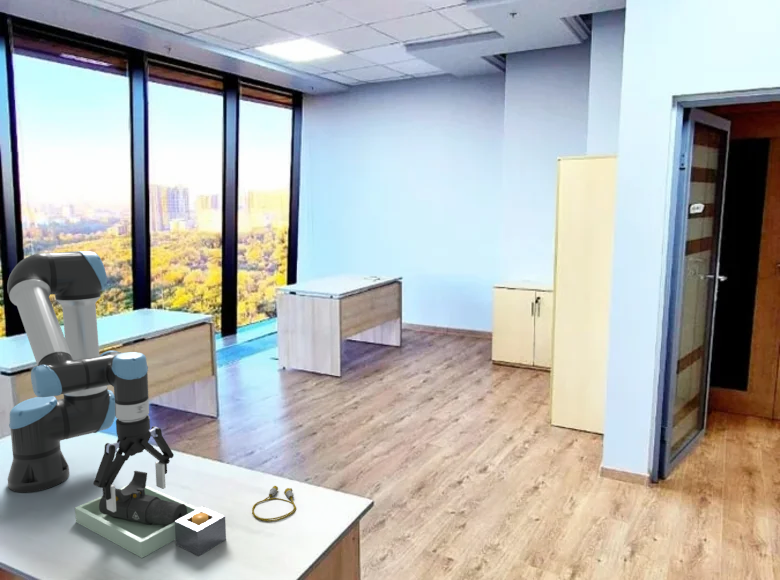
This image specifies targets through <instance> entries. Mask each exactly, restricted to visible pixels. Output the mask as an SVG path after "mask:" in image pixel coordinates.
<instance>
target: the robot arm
mask: <svg viewBox="0 0 780 580" xmlns="http://www.w3.org/2000/svg"><path fill="white" fill-rule="evenodd" d="M107 283H108V278H107V272H106V269H105V266H104V263H103V261H102V259H101V257H100V255H98V254H97V252H95V251H89V250H88V251H82V250H77V251H76V250H75V251H63V252H61V251H60V252H48V253H45V252H40V253H35V254H31V255H28V256H27V257H25V258H23V259H22V260H20V261H19V262H18V263H17V264H16V265H15V266H14V268H12V270H11V273H10V274H9V277H8V280H7V284H6V286H7V294H8V297H9V300H10V302H11V303H12V304H13V305H14V306H16V307H17V310H18V313H19V316H20V319H21V322H22V325H23V327H24V331H25V334H26V336H27V339H28V342H29V345H30V348H31V351H32V354H33V357H34V361H35V362H36V365H37V366H34V367H32V368H31V371H30V380H31V381H30V382H31V385H32V390H33V393H34V395H35V397H31V398H28V399H25V400H23V401H21V402H19V403H17V404H16V405H15V406H13V407H12V408H11V410H10V412H9V423H8V426H9V428H10V437H11V448H12V462H11V465H10V470H9V473H8V477H7V486H8V487H7V488H8V489H9V490H11V491H13V492H17V493H32V492H39V491H44V490H47V489H51V488H53V487H56V486H58V485H59V484H61V483H63V482H65V481H66V480H67V479H69V476H70V467H69V464H68V462H67V460H66V458H65V456H64V454H63V452H62V450H61V441H64V440H68V439H69V440H70V439H73V438H77V437H81V436H86V435H89V434H97V433H98V432H101V431H105V430H108V429H109V428H111V427H112V426H113V424H114V422H115V426H116V427H115V428H116V436H117V440H116V442H114V443H109V442H106V443H105V445H104V453H103V456H102V458H101V462H100V463H99V467H98V469H97V473H96V474H95V478H94V479H93V485H94V486H95V487H97V488H99V489H102V496H103V498H104V499H106V504H107V509H108V510H110V511H112V512H116V496H115V488H116V485H115V484H114V481H115V479H116V478H117V476H118V475H119V473H120V471H121V469H122V468H123V466H124V464H125V463H126V461H128V460H129V458H130V457H133V456H136V454H139V453H140V454H141V453H144V450H145V451H146V452H148V454H150V456H152V457H154V458H155V459H156V460H157V461H156V462H155V464H154V465H155V483H156V485H155V486H156V487H158V488H159V489H161V490H162V489H163V490H164V489H166V474H168V465H169V463H170V459H173V457H174V453H173V451H172V449H171V448H170V446H169V445H168V443H167V442H166V440H165V437H163V433H162V432H163V431H162V429H161V428H160V427H157V426H155V425H154V426H152V427H151V419H150V415H149V414H150V401H149V377H148V371H149V366H148V363H147V356H146V355H145V354H144V353H142V352H137V351H127V352H119V351H117V350H107V351H104V352H102V353H101V354H100V347H99V335H98V322H97V320H98V319H97V307H96V305H97V304H96V303H97V302H98V300H99V299H101V297H102V295H101V291H105V290H106V289H107V286H108V284H107ZM51 295H54V296H55V301H56V302H58V303H59V304H60V305H61V308H62V317H63V319H62V320H63V330H64V331H63V330H62V326H61V325H60V323H59V320H58V317H57V314H56V312H55V309H54V306H53V303H52V301H51V298H50V296H51ZM108 386H112V387H113V390H110V389H108ZM60 395H63V398H60V399H57V396H58V397H59V396H60ZM115 419H116V420H115ZM151 437H152V438H153V440H154V442H155V444H156V445H157V447H158V448H159V450H160V451H161V452H160V451H159V450H158V449H156V448H155V447H154V446H153V445H152V444H151V443H150V442H149V441H150V440H151Z"/></svg>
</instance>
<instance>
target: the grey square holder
mask: <svg viewBox="0 0 780 580" xmlns="http://www.w3.org/2000/svg"><path fill="white" fill-rule="evenodd" d="M198 508H199V509H197V510H195V511H193V512H191V513H189V514H187V515H185V516H183V517H181V518H180V519H178V520H176V521H175V536H176V539H175V545H176V547H177V546H178V547H180V548H181V549H183V550H185V551H188V552H189V553H191V554H194V555H196V556H197V557H199V556H201V555H203V554H204V553H207V552H208V551H209V550H211V549H214V548H215V547H217V546H218V545H219V544H222V543H223V542H224V541H226V540H227V533H226V532H227V527H226V525H227V523H226V515H224V514H221V513H219V512H217V511H214V510H212V509H210V508H207V507H205V506H201V507H198ZM197 513H207V514H208V521H206V522H204V523H203V524H201V525H199V526H198V525H196V524H194V523H192V516H193V515H195V514H197Z"/></svg>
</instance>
